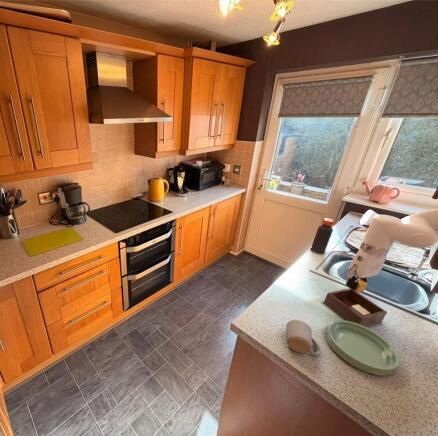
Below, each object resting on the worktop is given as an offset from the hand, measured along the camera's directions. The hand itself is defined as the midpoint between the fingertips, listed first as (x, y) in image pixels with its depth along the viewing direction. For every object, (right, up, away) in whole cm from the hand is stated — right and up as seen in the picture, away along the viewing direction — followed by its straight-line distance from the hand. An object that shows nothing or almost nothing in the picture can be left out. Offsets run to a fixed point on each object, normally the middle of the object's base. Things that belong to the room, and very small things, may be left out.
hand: (354, 286), depth 92 cm
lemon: (+12, -7, +14) cm, 20 cm away
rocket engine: (+81, +21, +72) cm, 111 cm away
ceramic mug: (-29, -18, -10) cm, 35 cm away
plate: (-10, -18, -12) cm, 24 cm away
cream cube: (+1, -12, 0) cm, 12 cm away
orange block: (0, 0, 0) cm, 0 cm away
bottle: (+18, +8, +45) cm, 49 cm away
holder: (+1, -12, +3) cm, 12 cm away
